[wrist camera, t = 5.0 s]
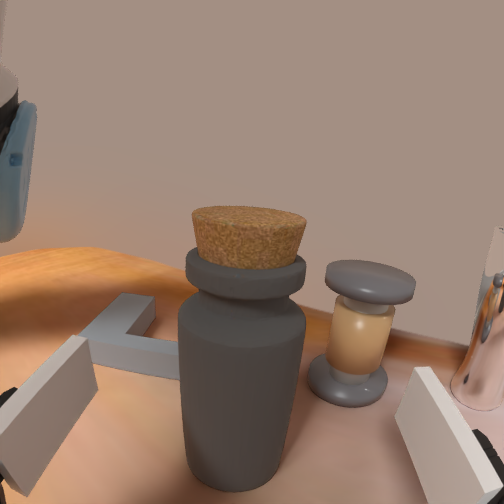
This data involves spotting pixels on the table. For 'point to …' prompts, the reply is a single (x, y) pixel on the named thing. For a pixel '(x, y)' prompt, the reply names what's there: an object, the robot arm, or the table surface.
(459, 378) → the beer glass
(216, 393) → the bottle
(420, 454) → the robot arm
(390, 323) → the bobbin
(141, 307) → the notch board
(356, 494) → the table surface
